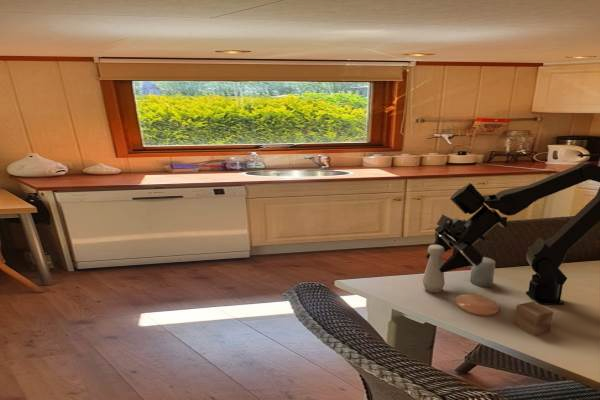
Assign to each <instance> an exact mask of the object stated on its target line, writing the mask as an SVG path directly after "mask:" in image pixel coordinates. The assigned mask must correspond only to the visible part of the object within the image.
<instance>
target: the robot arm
mask: <svg viewBox="0 0 600 400" xmlns="http://www.w3.org/2000/svg"><path fill="white" fill-rule="evenodd" d="M587 181H592V182H596V183H600V166H599V165H597V164H595V163H593V162H592V163H591V162H588V161H583V162H582V161H581V162H579V163H578V164H576V165H574V166H572V167H569V168H567V169H564V170H562V171H559V172H558V173H554V174H553V175H550V176H547V177H545V178H543V179H540V180H537V181H535V182H533V183H530V184H528V185H523V186H517V187H512V188H507V189H504V190H500V191H498V192H496V194H485V195H483V194H482V193H480V191H478V189H477V188H476V187H475V186H474V185H473V183H472V182H469V183H468V184H467V185H464V186H463V187H461V188H459V189H457V191H455V192H454V193H452V195H451V196H450V198H449V200H450V201H451V202H452V203H453V204H454V205H456V207H457V208H458V209H459V210H461V212H462V213H463V214H465V215H467V214H469V215H472V214H473V215H472V216H471V217H469V218H468V219H467V220H465V219H462V220H461V219H459V218H457V217H456V218H452V217H448V216H447V215H445V214H443V213H442V214H441V216H440V218H439V220H438V221H437V223H436V225H437V227H436V228H435V229H434V231H435V232H434V237H435V239H434V243H433V245H440V246H443V248H444V249H445V252H444V253H446V252H448V251H450V250H452V247H453V252H452V255H451V256H450V257H448V259H447V260H446V261H444V263H443V265H442V266H441V268H440V269H439V270H440V271H441V272H444V273H445V272H449V271H453V270H456V269H462V268H466V267H472V266H473V265H472V263H473V264H474V265H475V266H478V265H479V264H481V263H482V262H483V257H484V256H483V255H482V254H481V253H480V252H479V251H478V250H477V248H476V247H475V246H474V245H475V244H476V243H478V242H479V241H482V242H484V241H485V240H486V237H485V235H486V234H488V233H489V232H490V231H491V230H492V229H493V228H495V227H496V226H497V225H498V226H500V227H502V228H507V227H508V217H507V216H509V217H511V216H515V215H517V214H518V213H520V212H522V211H524V210H526V209H527V208H528V207H530V206H531V205H532V204H533V203H535V202H536V201H538V200H540V199H542V198H546V197H549V196H551V195H553V194H555V193H556V194H557V193H559V192H561V191H564V190H567V189H568V188H571V187H574V186H576V185H580V184H581V183H584V182H587ZM496 210H498V212H497V211H496ZM499 213H501V214H502V215H504V216H502V215H501V214H499ZM598 223H600V186H599V188H598V190H597V193H596V195H595V196H594V197H592V199H591V200H590V201H589V202H588V203H587V204H586V205H584V206H583V207H582V208H581V209H580V210H579V211H578V212H577V213H576V214H575V215H574V216H573V217H572V218H570V220H569V221H567V223H566V224H564V226H562V227H561V228H560V229H559V230H558V231H557V232H556V233H555V234H553V236H551V237H550V238H547V239H545V240H543V239H542V238H541V237H538V238H537V239H536V240H535V241H534V243H533V244H531V245H530V246H528V247H527V249H528V251H527V252H526V254H525V255H526V256H525V257H526V258H525V259H526V261H527V263H528V264H529V266H530V268H531V269H532V270H533V272H535V273H534V274H532V275H531V280H530V281H529V284H528V290H526V291H525V294H526V295H527V296H529V297H530V298H532V299H533V301H534V302H536V303H537V304H539V305H565V303H566V302H565V301H564V300H562V299H561V298H562V293H563V292H562V291H563V287H564V285H565V283H566V281H567V280H568V277H567V276H566V274H564V272H563V271H562V270H561V269H560V266H561V265H562V264H563V263H564V261H565V258H566V256H567V254H568V251H569V250H570V249H572V247H573V246H574V245H576V244H577V243H578V242H579V241H580V240H581V239H582V238H583V237H584V236H585V235H587V234H588V233H589V232H590V231H591V230H592V229H593V228H595V227H596V226H597V225H598ZM429 257H430V254H429V253H428V252H427V255H426V259H428V260H429Z"/></svg>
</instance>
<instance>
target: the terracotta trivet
mask: <svg viewBox="0 0 600 400" xmlns="http://www.w3.org/2000/svg"><path fill="white" fill-rule="evenodd" d="M454 302H455V305H456V306H457V308H459V309H460V310H461V311H463V312H466V313H467V314H471V315H476V316H481V317H492V316H495V315H497V314H499V313H498V312H499V309H500V306H499V304H497V302H496V301H494V300H492V299H490V298H489V297H486V296H483V295H478V294H476V293H462V294H459V295H457V296H456V297H455V301H454Z"/></svg>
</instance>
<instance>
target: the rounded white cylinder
mask: <svg viewBox="0 0 600 400" xmlns="http://www.w3.org/2000/svg"><path fill="white" fill-rule="evenodd" d="M471 264H472V265H473V266H472V267H471V266H470V267H471V269H470V277H469V282H470V283H471V284H472V285H474V286H477V287H480V288H491V287H493V286H494V285H493V284H494V277H495V268H496V261H495V260H494V259H493V258H489V257H486V256H483V262H482V263H481V264H479V265H478V266H475V265H474V264H473V263H471Z"/></svg>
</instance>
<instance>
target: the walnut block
mask: <svg viewBox="0 0 600 400" xmlns="http://www.w3.org/2000/svg"><path fill="white" fill-rule="evenodd" d="M514 316H515V317H514V322H513V325H515V326H517V327H518V328H520V329H522V330H523V331H525V332H526V333H529V334H530V335H532V336H539V335H542V334H546V333H550V332H551V329H552V322H553V318H554V317H553V316H554V311H552V310H551V309H549V308H547V307H544V306H542V304H539V303H538V302H536V301H534V300H533V301H528V302H524V303H518V304H516V309H515V315H514Z"/></svg>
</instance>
